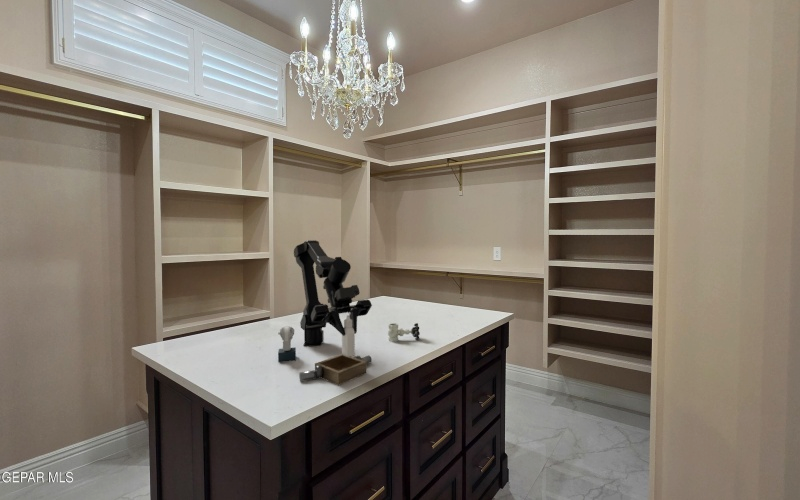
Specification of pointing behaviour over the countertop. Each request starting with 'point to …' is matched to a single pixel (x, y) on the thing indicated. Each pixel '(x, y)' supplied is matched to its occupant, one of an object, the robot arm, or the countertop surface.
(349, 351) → the white bottle
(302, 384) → the countertop surface
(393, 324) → the valve
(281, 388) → the countertop surface
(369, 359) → the input shaft
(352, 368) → the square brown wooden tray
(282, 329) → the rubber stamp
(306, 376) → the output shaft
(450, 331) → the countertop surface
